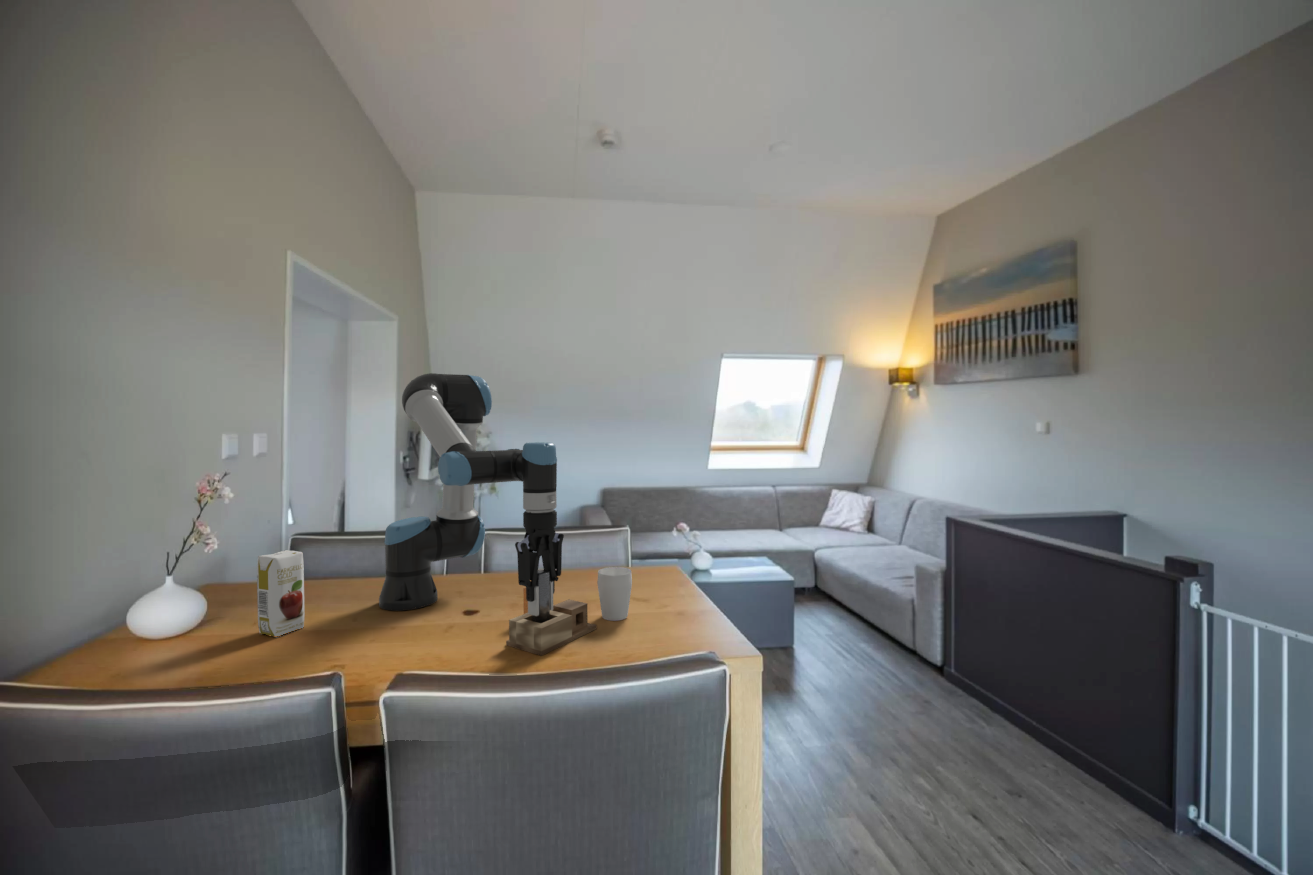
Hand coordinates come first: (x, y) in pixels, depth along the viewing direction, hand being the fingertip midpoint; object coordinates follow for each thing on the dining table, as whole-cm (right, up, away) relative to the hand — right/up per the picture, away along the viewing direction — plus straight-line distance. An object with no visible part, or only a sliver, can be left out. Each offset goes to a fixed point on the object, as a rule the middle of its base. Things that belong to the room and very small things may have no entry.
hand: (540, 611), depth 130 cm
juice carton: (-65, -7, +8) cm, 66 cm away
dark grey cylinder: (0, -3, 0) cm, 3 cm away
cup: (+16, -7, +18) cm, 25 cm away
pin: (-1, -7, +12) cm, 14 cm away
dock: (+2, -7, +4) cm, 9 cm away
